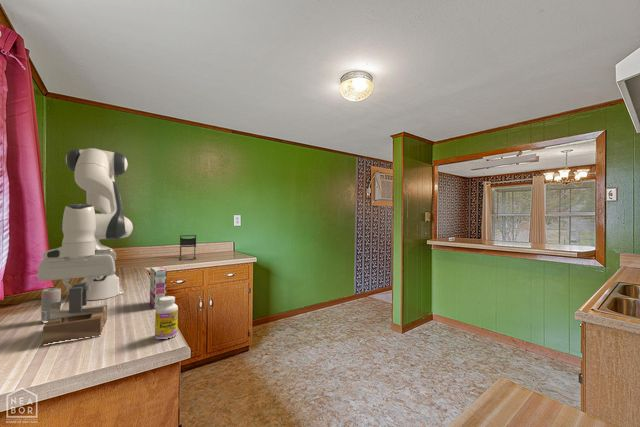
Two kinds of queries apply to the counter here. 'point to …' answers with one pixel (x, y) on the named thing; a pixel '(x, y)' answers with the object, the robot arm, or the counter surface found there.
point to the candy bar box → (157, 285)
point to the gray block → (77, 297)
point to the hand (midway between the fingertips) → (78, 290)
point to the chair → (187, 242)
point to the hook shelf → (74, 323)
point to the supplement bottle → (166, 318)
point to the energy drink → (49, 301)
